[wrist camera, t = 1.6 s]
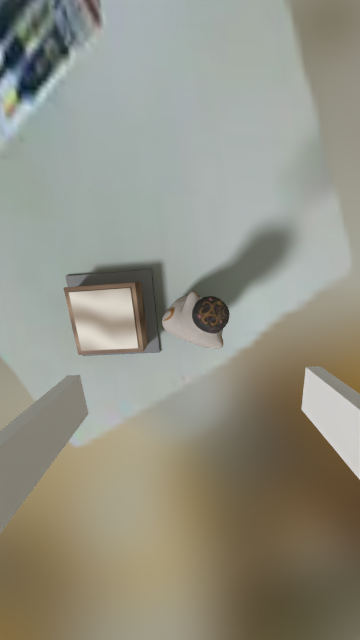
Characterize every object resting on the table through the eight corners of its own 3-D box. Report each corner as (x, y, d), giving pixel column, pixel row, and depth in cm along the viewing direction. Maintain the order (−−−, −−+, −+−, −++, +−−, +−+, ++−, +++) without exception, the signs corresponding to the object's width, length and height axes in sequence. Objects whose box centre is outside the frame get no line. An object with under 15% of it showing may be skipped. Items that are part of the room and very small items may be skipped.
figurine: (221, 324, 35) (244, 360, 20) (171, 338, 36) (159, 382, 21) (209, 280, 33) (225, 284, 18) (157, 296, 34) (133, 312, 19)
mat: (66, 276, 34) (65, 276, 34) (151, 269, 33) (150, 269, 32) (83, 355, 38) (82, 355, 37) (160, 351, 37) (159, 352, 36)
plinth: (78, 286, 34) (62, 287, 30) (141, 281, 33) (134, 282, 29) (90, 346, 37) (77, 355, 33) (148, 343, 36) (143, 352, 32)
